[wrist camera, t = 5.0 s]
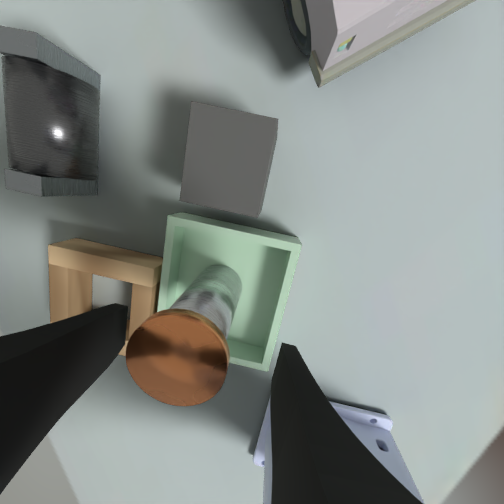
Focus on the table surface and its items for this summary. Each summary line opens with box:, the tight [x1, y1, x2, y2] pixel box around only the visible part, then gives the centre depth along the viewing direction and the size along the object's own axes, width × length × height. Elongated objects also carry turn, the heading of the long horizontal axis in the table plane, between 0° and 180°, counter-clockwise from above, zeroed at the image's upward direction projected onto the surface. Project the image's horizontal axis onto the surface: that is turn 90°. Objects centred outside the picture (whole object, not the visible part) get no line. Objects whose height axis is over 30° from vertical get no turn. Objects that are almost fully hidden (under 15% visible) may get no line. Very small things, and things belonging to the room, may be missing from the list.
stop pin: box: [126, 264, 242, 406], centre depth 13 cm, size 4×4×8 cm
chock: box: [180, 101, 278, 218], centre depth 13 cm, size 4×4×4 cm
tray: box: [157, 212, 302, 372], centre depth 16 cm, size 8×9×2 cm
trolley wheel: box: [0, 26, 100, 196], centre depth 13 cm, size 4×7×4 cm, turn 169°
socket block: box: [48, 238, 163, 356], centre depth 17 cm, size 7×7×2 cm
